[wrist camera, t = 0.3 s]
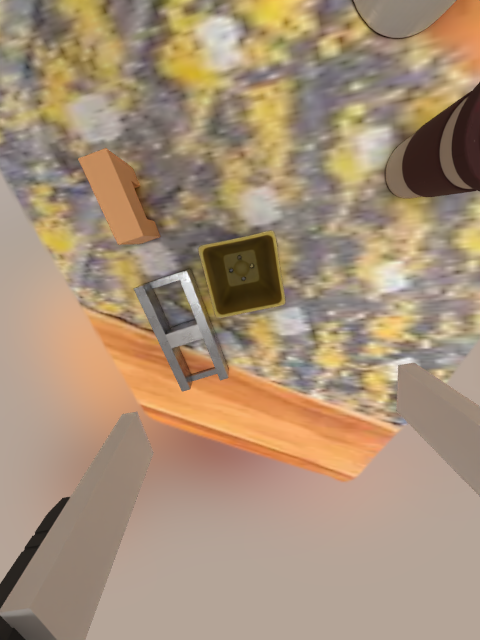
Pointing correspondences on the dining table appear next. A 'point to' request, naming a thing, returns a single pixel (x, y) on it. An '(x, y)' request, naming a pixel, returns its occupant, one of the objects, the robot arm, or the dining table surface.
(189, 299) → the rail
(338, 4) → the dining table surface
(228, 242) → the flower pot
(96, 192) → the brown notched block
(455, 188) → the coffee cup
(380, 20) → the utensil holder
